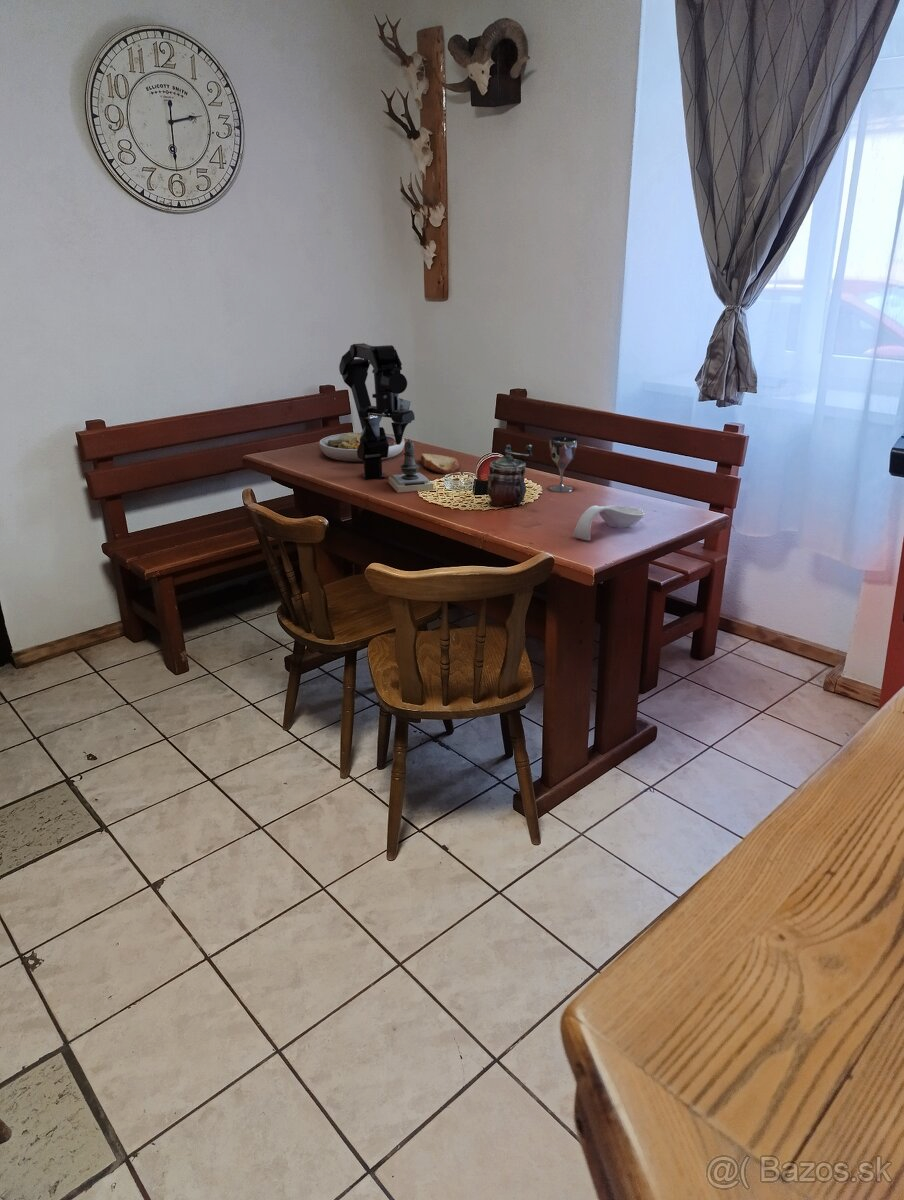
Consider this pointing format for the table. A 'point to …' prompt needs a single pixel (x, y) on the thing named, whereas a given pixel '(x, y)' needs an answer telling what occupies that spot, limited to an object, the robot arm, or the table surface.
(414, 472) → the grey carved figurine
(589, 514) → the spoon rest
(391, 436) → the bowl
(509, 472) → the coffee grinder
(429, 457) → the bread slice
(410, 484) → the scale
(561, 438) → the wine glass
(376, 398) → the robot arm
